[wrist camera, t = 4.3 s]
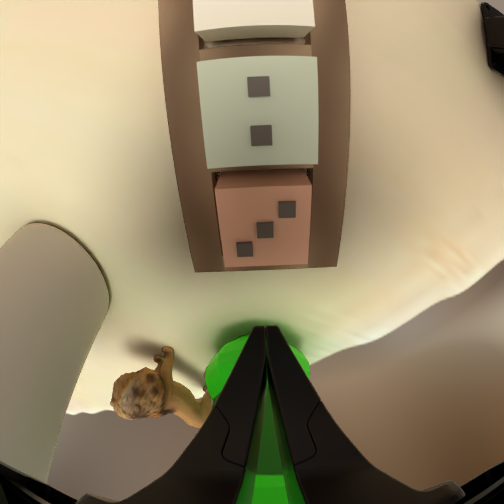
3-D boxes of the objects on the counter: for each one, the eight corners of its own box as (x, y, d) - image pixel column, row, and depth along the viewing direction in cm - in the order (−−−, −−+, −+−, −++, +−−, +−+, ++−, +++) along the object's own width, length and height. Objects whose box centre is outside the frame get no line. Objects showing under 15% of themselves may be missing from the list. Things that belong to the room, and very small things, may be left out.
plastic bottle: (209, 308, 23) (179, 607, 2) (324, 322, 24) (359, 591, 3) (203, 366, 29) (184, 574, 8) (293, 375, 30) (304, 573, 9)
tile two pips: (304, 62, 11) (317, 56, 9) (306, 149, 14) (318, 165, 11) (208, 67, 12) (195, 61, 9) (215, 153, 14) (206, 170, 12)
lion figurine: (121, 345, 27) (99, 412, 20) (140, 327, 25) (115, 404, 18) (219, 394, 33) (214, 454, 26) (246, 383, 31) (244, 449, 23)
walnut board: (331, -39, 8) (337, -48, 7) (332, 254, 20) (336, 266, 19) (165, -31, 8) (158, -40, 7) (198, 259, 20) (195, 272, 19)
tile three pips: (302, 168, 16) (312, 186, 13) (300, 238, 19) (308, 265, 16) (221, 172, 16) (214, 190, 14) (228, 241, 19) (224, 269, 16)
